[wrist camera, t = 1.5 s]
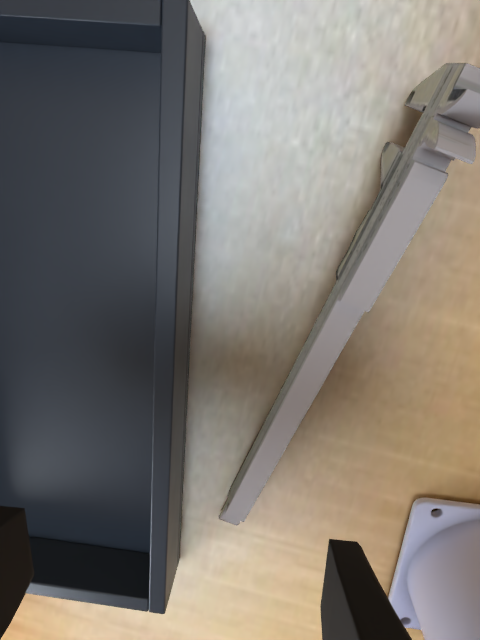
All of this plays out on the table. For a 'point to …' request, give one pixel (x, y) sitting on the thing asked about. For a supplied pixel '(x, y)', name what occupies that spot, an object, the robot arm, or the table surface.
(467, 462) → the table surface
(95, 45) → the tray
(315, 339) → the caliper
